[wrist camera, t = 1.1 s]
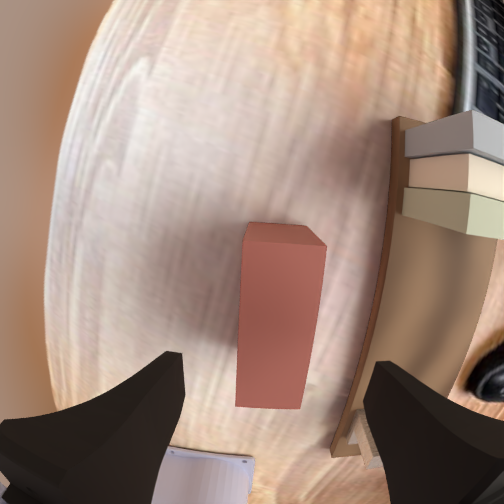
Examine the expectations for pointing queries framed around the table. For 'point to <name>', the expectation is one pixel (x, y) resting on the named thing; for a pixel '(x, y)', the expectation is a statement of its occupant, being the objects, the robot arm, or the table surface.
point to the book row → (457, 174)
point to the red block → (277, 313)
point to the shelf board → (419, 296)
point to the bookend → (364, 440)
